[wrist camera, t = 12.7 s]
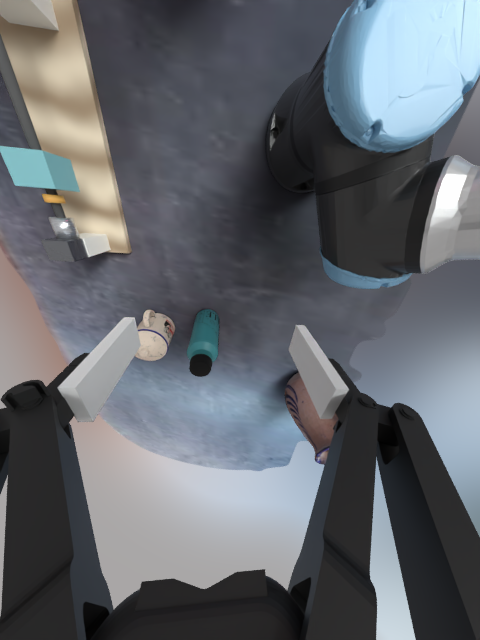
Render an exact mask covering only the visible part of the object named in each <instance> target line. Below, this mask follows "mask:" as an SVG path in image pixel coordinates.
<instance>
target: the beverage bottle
mask: <svg viewBox="0 0 480 640" xmlns="http://www.w3.org/2000/svg"><path fill="white" fill-rule="evenodd" d="M219 325H220V324H219V317H218V315H217V313H216V312H214V311H213V310H209V309H205V310H202V311H200V312H198V314H197V316H196V319H195V323H194V327H193V331H192V335H191V339H190V343H189V346H188V349H187V356H188V358H189V360H190V367H189V369H190V372H191V373H192V374H193V375H195V376H199V377H202V376H206V375H208V374H209V373H210V371H211V367H212V362H214V361H215V360H216V358H217V356H218V343H219V342H218V340H219V338H218V336H219V328H220V327H219Z"/></svg>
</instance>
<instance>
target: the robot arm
mask: <svg viewBox="0 0 480 640" xmlns="http://www.w3.org/2000/svg"><path fill="white" fill-rule="evenodd" d="M479 74H480V0H354V1H353V2H352V5H351V7H349V8H347V10H346V12H345V13H344V14H343V16H342V17H341V19H340V21H339V22H338V24H337V26H336V29H335V31H334V32H333V35H332V37H331V39H330V41H329V42H328V44H327V46H326V47H325V49H324V51H323V52H322V54H321V55H320V57H319V59H318V60H317V62H316V64H315V65H314V67H313V69H312V70H311V72H309V73H306V74H304V75H302V76H301V77H299V78H298V79H297V80H295V81H294V82H293V83H292V84H291V85H290V86H289V87H288V88H287V90H286V91H285V92H284V93H283V95H282V96H281V98H280V100H279V101H278V103H277V105H276V107H275V109H274V111H273V114H272V116H271V119H270V122H269V126H268V130H267V136H266V154H267V160H268V164H269V167H270V170H271V172H272V174H273V176H274V178H275V179H276V180H277V182H278V183H279V184H280V185H281V186H282V187H284V188H285V189H287V190H289V191H292V192H296V193H305V192H310V191H314V190H315V192H316V205H317V215H318V225H319V235H320V245H321V246H320V254H321V256H322V260H323V267H324V271H325V273H326V274H327V275H328V277H329V278H330V279H332V280H333V281H335V282H337V283H339V284H341V285H344V286H348V287H353V288H360V289H378V288H380V286H384V287H391V286H395V285H398V284H400V283H402V282H404V281H406V280H407V279H408V278H409V277H410V275H412V274H413V273H429V272H430V271H432V270H434V269H435V268H437V267H439V266H440V265H442V264H444V263H446V262H448V261H451V260H480V166H474V165H472V164H471V163H469V162H467V161H466V160H464V159H463V158H461V157H460V156H458V155H456V156H451V157H448V158H444V159H441V160H437V161H434V162H430V157H431V151H432V145H433V139H434V133H435V132H436V131H437V130H438V129H439V128H440V127H442V126H443V125H444V124H445V123H446V122H447V121H448V120H449V119H450V118H451V117H452V115H453V114H454V113H455V112H456V111H457V110H458V108H459V107H460V106H461V104H462V103H463V95H464V94H465V93H466V92H468V91H469V90H470V89H471V88H472V87H473V86H474V84H475V82H476V80H477V78H478V76H479ZM140 346H141V344H140V339H139V335H138V330H137V326H136V321H135V318H131V317H124V318H123V319H122V320H121V321H120V322H119V323H118V324H117V325H116V326H115V327H114V329H113V330H112V331H111V332H110V333H109V334H108V335H107V336H106V337H105V338H104V339H103V340H102V341H101V342H100V343H99V344H98V345H97V346H96V348H95V349H94V350H93V351H92V352H91V353H84V354H82V355H80V356H79V357H77V358H75V359H74V360H73V361H72V362H71V363H70V364H69V366H67V367H66V368H65V369H64V370H63V372H61V373H60V374H59V375H58V376H57V377H56V378H55V379H54V380H53V381H52V382H51V383H50V384H49V385H48V386H47V387H46V386H45V385H44V383H43V382H42V381H40V380H30V381H27V382H23V383H21V384H19V385H17V386H14V387H13V388H11V389H9V390H8V391H7V392H6V393H5V394H4V395H3V396H2V398H1V401H2V402H3V403H4V404H5V406H6V407H7V408H3V409H0V494H1V491H2V488H3V486H4V483H5V480H6V478H7V475H8V485H7V506H6V527H5V548H4V569H3V590H2V610H1V617H0V640H376V622H377V598H376V592H375V588H374V586H373V584H372V582H371V580H370V571H369V570H370V551H371V535H372V518H373V502H374V501H373V500H374V485H375V484H374V483H375V468H376V457H377V461H378V466H379V470H380V475H381V480H382V484H383V489H384V494H385V498H386V503H387V508H388V512H389V517H390V522H391V526H392V531H393V536H394V540H395V545H396V550H397V554H398V559H399V564H400V568H401V573H402V578H403V582H404V587H405V591H406V596H407V600H408V605H409V610H410V615H411V619H412V624H413V629H414V633H415V638H416V640H480V537H479V535H478V533H477V531H476V529H475V527H474V525H473V523H472V521H471V519H470V517H469V515H468V513H467V511H466V509H465V506H464V504H463V502H462V500H461V498H460V496H459V494H458V492H457V490H456V488H455V486H454V484H453V482H452V480H451V478H450V476H449V474H448V471H447V470H446V467H445V465H444V464H443V461H442V459H441V457H440V455H439V453H438V451H437V449H436V447H435V445H434V443H433V441H432V439H431V437H430V435H429V433H428V430H427V428H426V426H425V424H424V422H423V420H422V418H421V417H420V415H419V414H418V413H417V412H416V411H414V410H413V409H412V408H410V407H409V406H407V405H404V404H401V403H395V404H394V405H393V406H392V407H391V408H390V407H386V406H383V405H379V404H377V403H376V402H375V401H374V400H373V399H372V398H371V397H369V396H368V395H366V394H363V393H360V391H359V390H358V389H357V387H356V386H355V385H354V383H353V382H352V381H351V379H350V378H349V377H348V375H347V374H346V373H345V371H343V369H342V367H341V366H340V364H339V363H337V362H336V361H335V360H334V359H328V358H327V357H326V355H325V354H324V353H323V351H322V350H321V348H320V347H319V345H318V344H317V342H316V341H315V340H314V338H313V337H312V335H311V334H310V332H309V331H308V330H307V328H306V327H305V325H296V327H295V330H294V334H293V337H292V340H291V344H290V347H289V352H290V354H291V356H292V358H293V360H294V363H295V365H296V367H297V369H298V371H299V373H300V376H301V378H302V380H303V382H304V384H305V387H306V389H307V391H308V393H309V395H310V398H311V400H312V402H313V404H314V406H315V408H316V411H317V413H318V415H319V417H320V419H332V418H333V416H334V414H335V413H336V415H337V417H338V421H337V422H336V424H335V425H334V427H333V430H334V433H333V437H332V441H331V444H330V448H329V452H328V455H327V459H326V463H325V466H324V470H323V474H322V477H321V481H320V485H319V489H318V492H317V495H316V499H315V503H314V506H313V510H312V514H311V518H310V521H309V525H308V528H307V532H306V536H305V539H304V543H303V547H302V550H301V553H300V556H299V558H298V560H297V562H296V565H295V567H294V570H293V573H292V576H291V580H290V584H289V587H288V590H285V588H284V587H283V586H281V585H280V584H279V583H278V582H277V581H275V580H273V579H272V578H270V577H268V576H265V570H254V571H243V572H236V573H234V574H232V575H231V576H229V577H227V578H225V579H223V580H222V581H220V582H218V583H216V584H215V585H213V586H211V587H209V588H207V589H200V588H198V587H195V586H192V585H190V584H187V583H184V582H181V581H178V580H176V579H165V580H155V581H145V582H142V583H141V588H140V589H139V590H138V591H136V592H134V593H133V594H132V595H130V596H129V597H127V598H126V599H125V600H124V601H123V602H122V603H120V604H119V605H118V606H117V607H116V608H115V609H114V610H113V605H112V601H111V596H110V592H109V589H108V586H107V583H106V581H105V579H104V576H103V574H102V571H101V568H100V562H99V558H98V553H97V549H96V543H95V538H94V534H93V529H92V524H91V519H90V514H89V510H88V505H87V500H86V495H85V491H84V486H83V481H82V476H81V471H80V466H79V462H78V457H77V452H76V447H75V442H74V438H73V433H72V428H71V425H70V424H69V422H70V420H71V419H72V418H73V416H75V418H76V420H77V421H78V422H93V421H94V420H95V418H96V416H97V415H98V413H99V412H100V410H101V409H102V407H103V405H104V404H105V402H106V401H107V399H108V397H109V396H110V394H111V393H112V391H113V389H114V388H115V386H116V385H117V383H118V381H119V380H120V378H121V377H122V375H123V373H124V372H125V370H126V369H127V367H128V365H129V364H130V362H131V361H132V359H133V357H134V356H135V354H136V353H137V351H138V349H139V348H140Z"/></svg>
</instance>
